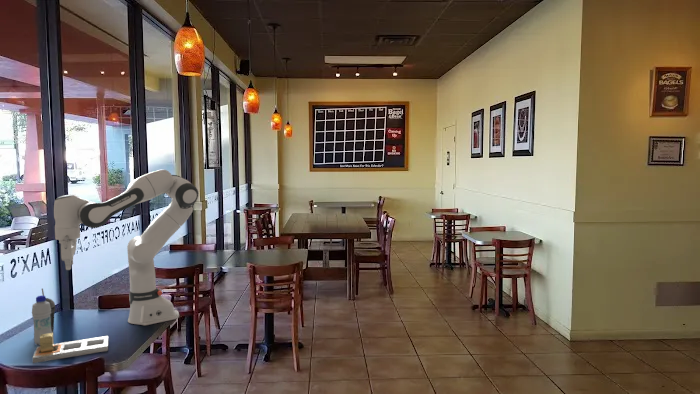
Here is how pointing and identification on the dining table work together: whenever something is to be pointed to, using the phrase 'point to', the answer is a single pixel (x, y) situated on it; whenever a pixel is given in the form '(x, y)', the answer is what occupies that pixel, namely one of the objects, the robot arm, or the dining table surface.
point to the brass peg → (46, 343)
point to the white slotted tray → (63, 353)
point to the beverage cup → (51, 310)
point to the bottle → (41, 318)
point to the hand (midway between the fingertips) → (69, 267)
